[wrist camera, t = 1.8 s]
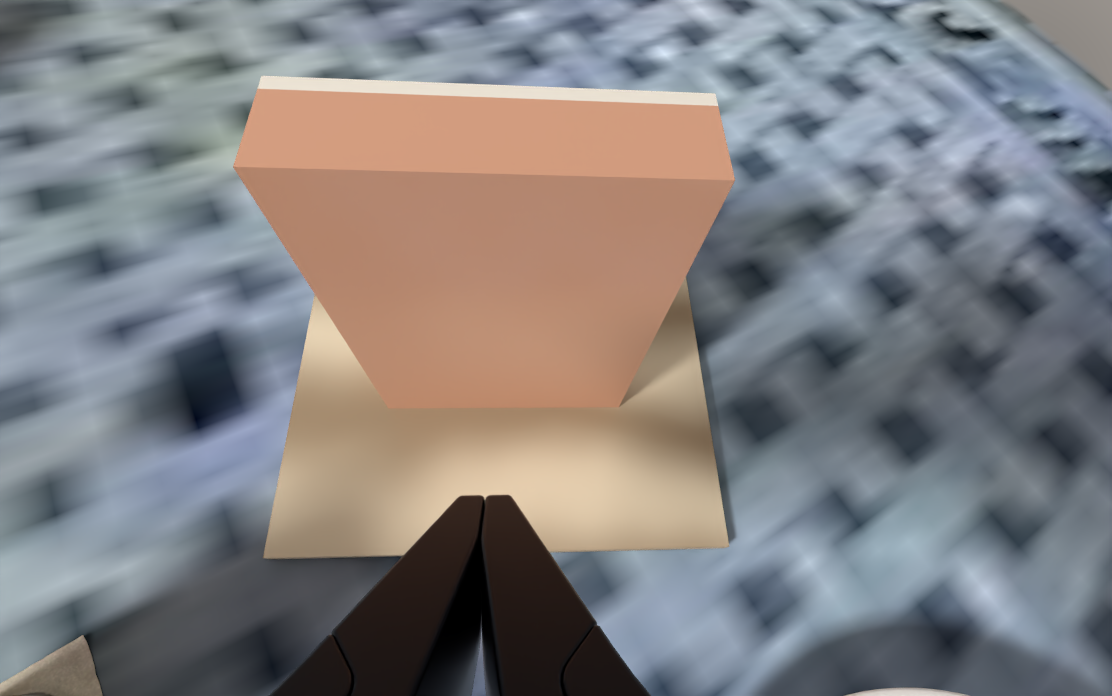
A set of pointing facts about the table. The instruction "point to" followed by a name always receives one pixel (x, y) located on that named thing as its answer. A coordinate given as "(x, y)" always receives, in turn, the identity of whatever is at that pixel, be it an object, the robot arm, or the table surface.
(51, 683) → the condiment
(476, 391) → the tile
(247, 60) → the table surface
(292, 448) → the board
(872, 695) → the candlestick
